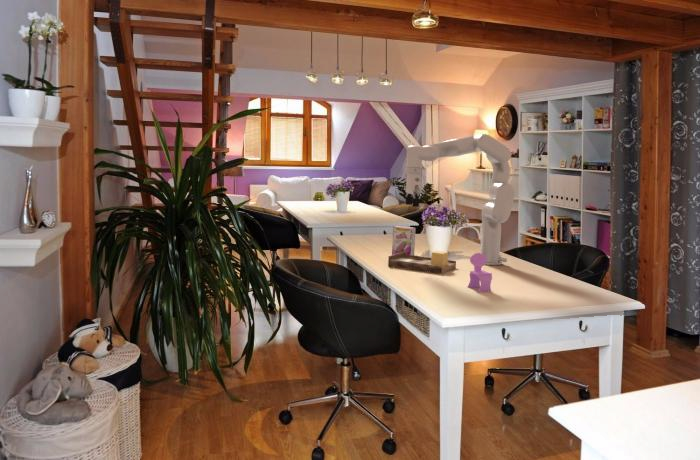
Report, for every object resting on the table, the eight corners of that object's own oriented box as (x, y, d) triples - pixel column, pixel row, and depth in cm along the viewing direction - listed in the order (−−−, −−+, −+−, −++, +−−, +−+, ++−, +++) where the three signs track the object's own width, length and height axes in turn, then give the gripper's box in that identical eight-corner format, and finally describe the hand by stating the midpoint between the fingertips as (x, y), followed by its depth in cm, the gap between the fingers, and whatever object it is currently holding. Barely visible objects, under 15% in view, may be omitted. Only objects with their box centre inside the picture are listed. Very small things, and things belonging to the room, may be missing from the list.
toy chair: (476, 292, 248) (479, 256, 246) (465, 287, 256) (467, 252, 254) (493, 291, 251) (496, 255, 249) (481, 286, 259) (483, 252, 257)
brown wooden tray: (455, 268, 297) (456, 258, 296) (441, 274, 282) (441, 263, 281) (404, 260, 311) (405, 251, 311) (388, 266, 296) (388, 256, 295)
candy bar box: (391, 257, 321) (392, 226, 319) (395, 255, 326) (397, 225, 323) (410, 259, 316) (411, 228, 313) (414, 258, 320) (415, 227, 318)
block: (447, 264, 292) (448, 252, 292) (442, 266, 287) (443, 253, 287) (436, 262, 296) (436, 250, 295) (430, 264, 290) (431, 252, 290)
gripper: (427, 172, 290) (425, 207, 292) (415, 170, 306) (413, 203, 309) (412, 171, 288) (411, 207, 290) (401, 170, 305) (399, 203, 307)
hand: (412, 205), depth 300 cm, fingers open, 9 cm apart
